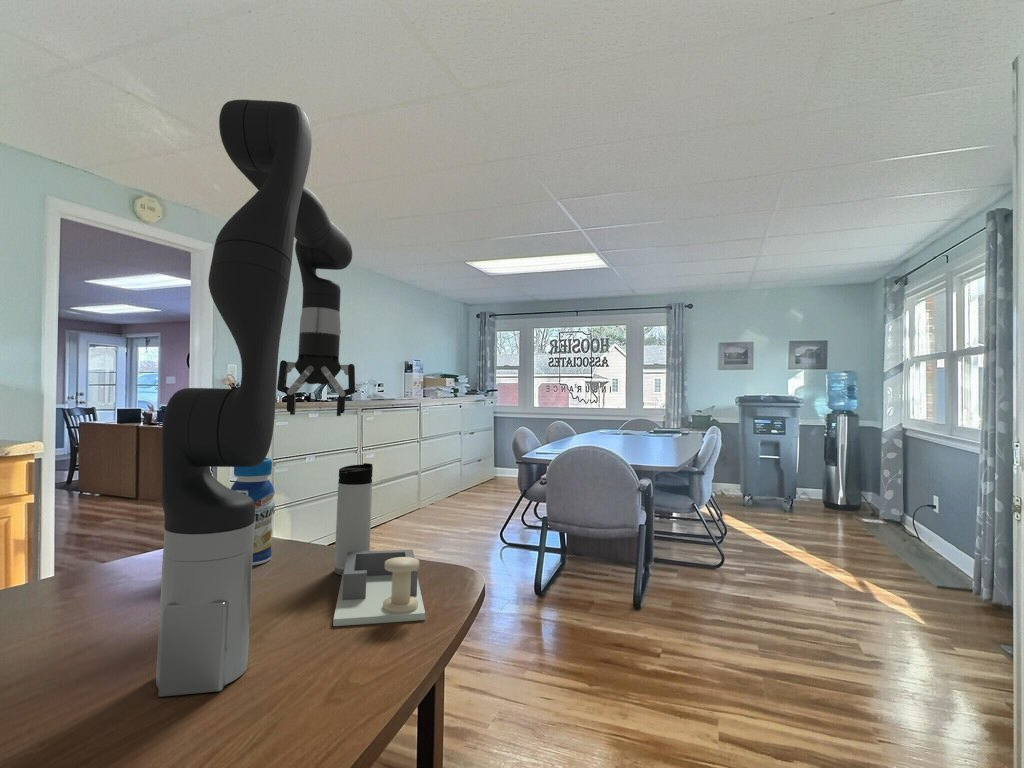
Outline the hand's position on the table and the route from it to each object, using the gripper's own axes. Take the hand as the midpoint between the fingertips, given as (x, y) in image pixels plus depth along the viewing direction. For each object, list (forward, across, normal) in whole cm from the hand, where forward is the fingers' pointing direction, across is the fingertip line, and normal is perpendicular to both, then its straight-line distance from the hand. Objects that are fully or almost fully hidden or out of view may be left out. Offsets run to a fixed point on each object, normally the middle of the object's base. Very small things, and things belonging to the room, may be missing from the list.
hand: (316, 415), depth 103 cm
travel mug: (+29, +8, -4) cm, 31 cm away
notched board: (+29, +13, -20) cm, 37 cm away
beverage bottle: (+29, -12, +5) cm, 32 cm away
